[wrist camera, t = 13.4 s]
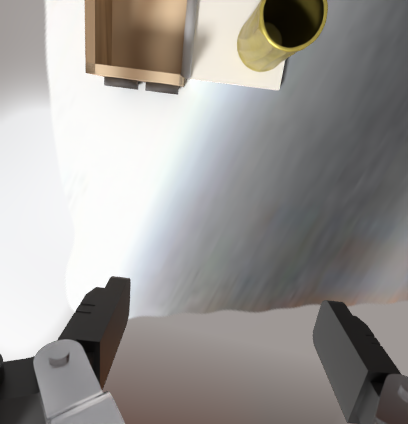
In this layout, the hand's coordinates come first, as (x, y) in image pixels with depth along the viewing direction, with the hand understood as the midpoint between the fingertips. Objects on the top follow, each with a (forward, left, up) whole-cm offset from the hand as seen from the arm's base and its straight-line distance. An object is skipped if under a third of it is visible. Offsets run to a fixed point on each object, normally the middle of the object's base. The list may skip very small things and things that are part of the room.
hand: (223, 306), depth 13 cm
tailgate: (-1, -15, -32) cm, 35 cm away
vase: (-4, -15, -31) cm, 35 cm away
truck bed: (+10, -15, -32) cm, 37 cm away
